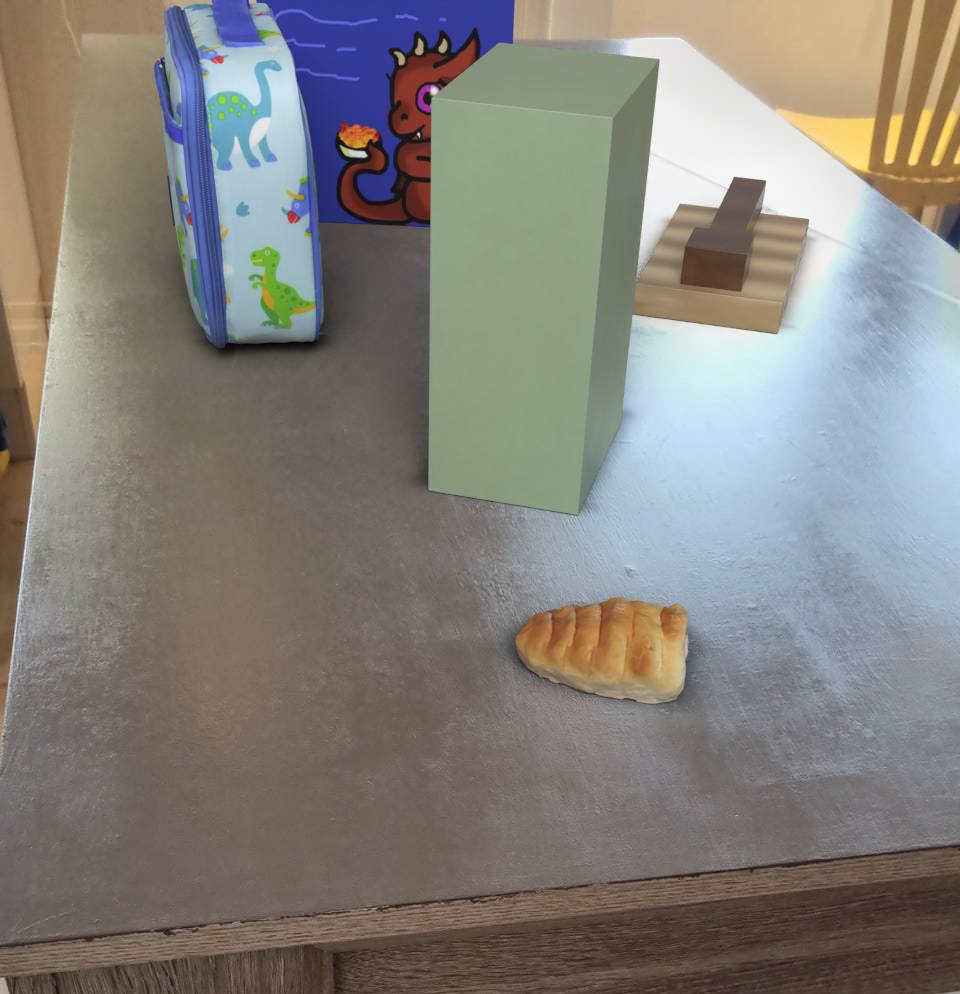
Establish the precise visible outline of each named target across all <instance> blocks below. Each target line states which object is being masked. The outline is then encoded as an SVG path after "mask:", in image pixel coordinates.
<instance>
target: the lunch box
mask: <svg viewBox="0 0 960 994" xmlns="http://www.w3.org/2000/svg"><path fill="white" fill-rule="evenodd" d="M163 19H164V27H163V55H164V56H162V57H158V58H157V60H156V62H155V63H154V65H153V72H154V73H153V74H154V81H155V86H156V88H157V89H156V90H157V93H158V96H159V104H160V107H161V108H160V109H161V112H160V113H161V122H162V132H163V141H164V150H165V157H166V166H167V173H168V174H167V176H166V180H167V187H168V188H167V189H168V196H169V204H170V210H171V211H170V212H171V217H172V218H171V219H172V226H173V227H174V228H175V235H176V240H177V247H178V251H179V256H180V262H181V267H182V272H183V276H184V281H185V286H186V290H187V295H188V298H189V301H190V306H191V309H192V312H193V315H194V317H195V319H196V321H197V323H198V325H199V326H200V327H201V328H202V330H203V332H204V335H205V337H206V338H207V340H208V342H209V343H211V344H213V346H214V347H216V348H218V349H224V348H225V347H226V344H227V343H230V344H235V345H236V344H237V345H244V344H256V345H257V344H266V343H267V344H268V343H282V344H283V343H292V342H296V343H304V342H310V343H311V342H312V343H314V342H315V341H317V340H319V339H320V330H321V328H322V326H323V323H324V320H325V319H324V317H325V302H324V283H323V264H322V248H321V245H322V244H321V233H320V222H319V219H318V204H317V190H316V180H315V170H314V162H313V154H312V147H311V139H310V133H309V127H308V121H307V115H306V109H305V106H304V102H303V99H302V95H301V92H300V89H299V86H298V83H297V77H296V67H295V61H294V58H293V55H292V53H291V51H290V49H289V48H288V46H287V44H286V41H285V40H284V38H283V36H282V34H281V32H280V29H279V28H278V25H277V22H276V19H275V17H274V14H273V10H272V8H270V7H268V5H267V4H265V3H256V2H251V3H250V0H211V3H193V4H191V5H190V4H189V5H187V6H185V7H184V8H183V9H182V8H181V6H179V5H175V4H174V5H173V6H172V7H168V8H167V10H164V11H163Z"/></svg>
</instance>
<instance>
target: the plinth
mask: <svg viewBox="0 0 960 994" xmlns="http://www.w3.org/2000/svg"><path fill="white" fill-rule="evenodd" d="M660 61H661V60H660V58H654V57H645V56H634V55H625V54H615V53H605V52H595V51H584V50H575V49H566V48H555V47H548V46H547V47H546V46H535V45H528V44H516V43H513V44H508V43H498V44H497V45H496V46H494V47H493V48H492V49H491V50H489V51H488V52H487V53H486V54H485V55H483V56H482V57H481V58H480V59H478V60H477V61H476V62H475V63H474V64H472V65H471V66H470V67H469V68H467V69H466V70H465V71H464V72H463V73H461V74H460V75H459V76H458V77H456V78H455V79H454V80H453V81H452V82H450V83H449V84H448V85H447V86H445V87H444V88H443V89H442V90H441V91H439V92H438V93H437V94H436V95H434V96H433V97H432V98H431V206H430V227H429V341H428V343H429V345H428V347H429V348H428V349H429V353H428V459H427V461H428V465H427V466H428V468H427V469H428V471H427V474H428V476H427V478H428V479H427V484H428V485H427V488H428V489H427V490H428V491H429V492H434V493H440V494H447V495H452V496H459V497H463V498H471V499H476V500H483V501H489V502H496V503H500V504H501V503H502V504H507V505H513V506H519V507H525V508H530V509H532V508H533V509H538V510H544V511H549V512H556V513H562V514H567V515H574V516H578V515H579V513H580V512H581V509H582V508H583V505H584V503H585V501H586V499H587V496H588V495H589V492H590V491H591V488H592V487H593V484H594V482H595V481H596V477H597V476H598V473H599V471H600V469H601V467H602V465H603V463H604V460H605V459H606V456H607V454H608V453H609V450H610V448H611V446H612V444H613V442H614V440H615V438H616V436H617V433H618V431H619V429H620V427H621V424H622V416H623V408H624V397H625V389H626V380H627V371H628V360H629V352H630V342H631V333H632V332H631V331H632V323H633V315H634V314H633V305H634V296H635V287H636V282H637V278H638V277H637V276H638V268H639V267H638V266H639V257H640V247H641V238H642V232H643V231H642V229H643V221H644V220H643V219H644V211H645V201H646V193H647V192H646V191H647V184H648V173H649V165H650V156H651V155H650V154H651V145H652V136H653V126H654V117H655V108H656V98H657V88H658V80H659V71H660V63H661V62H660Z"/></svg>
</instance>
